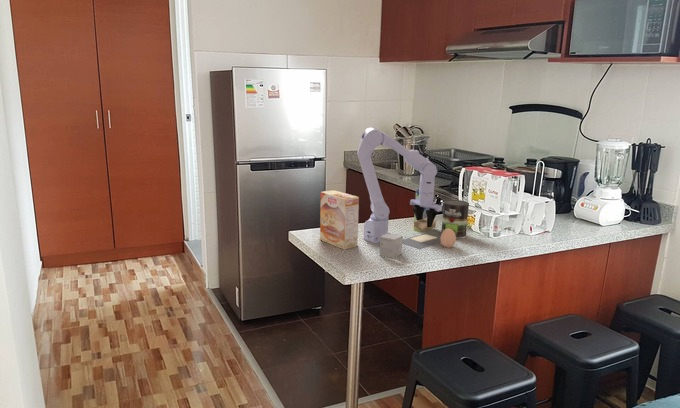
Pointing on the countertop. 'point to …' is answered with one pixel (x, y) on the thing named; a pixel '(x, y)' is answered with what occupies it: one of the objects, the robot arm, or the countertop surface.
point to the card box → (423, 224)
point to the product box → (390, 245)
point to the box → (424, 209)
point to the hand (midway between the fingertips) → (424, 225)
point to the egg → (448, 238)
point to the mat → (421, 241)
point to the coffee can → (455, 217)
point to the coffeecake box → (339, 219)
